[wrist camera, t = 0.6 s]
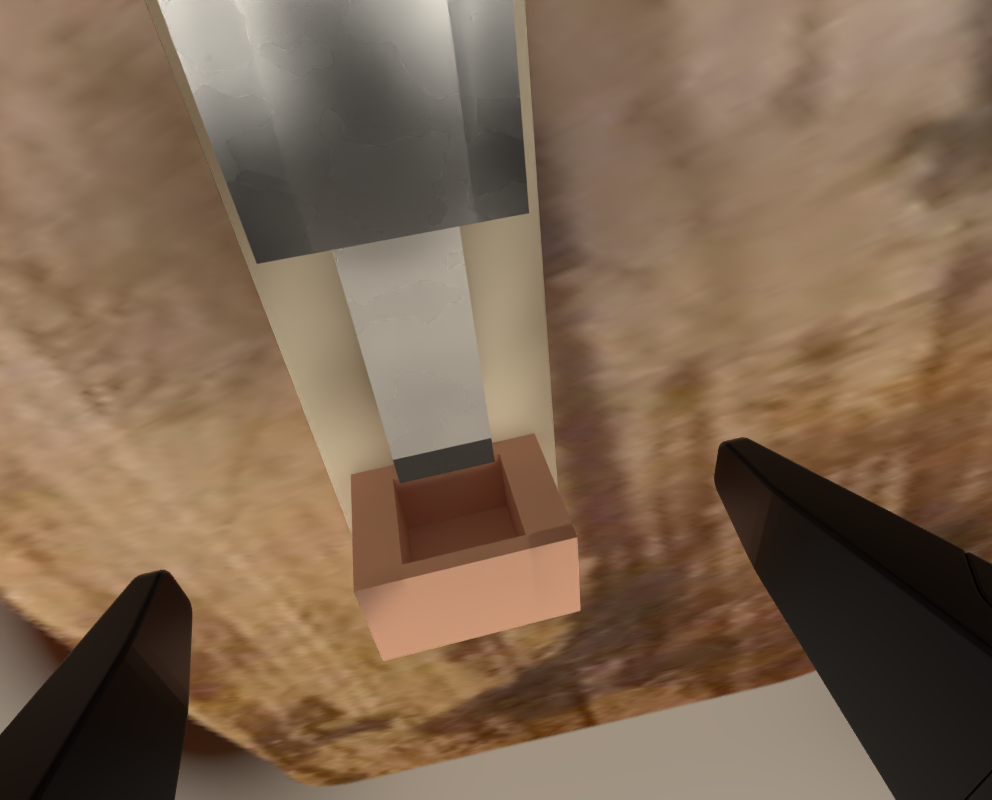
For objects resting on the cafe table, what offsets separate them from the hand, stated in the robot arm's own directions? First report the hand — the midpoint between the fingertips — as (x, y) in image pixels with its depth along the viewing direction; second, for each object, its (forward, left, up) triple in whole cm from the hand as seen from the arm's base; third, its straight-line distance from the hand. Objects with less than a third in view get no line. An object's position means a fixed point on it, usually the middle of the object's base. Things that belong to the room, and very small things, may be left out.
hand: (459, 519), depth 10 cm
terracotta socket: (0, +11, -11) cm, 16 cm away
